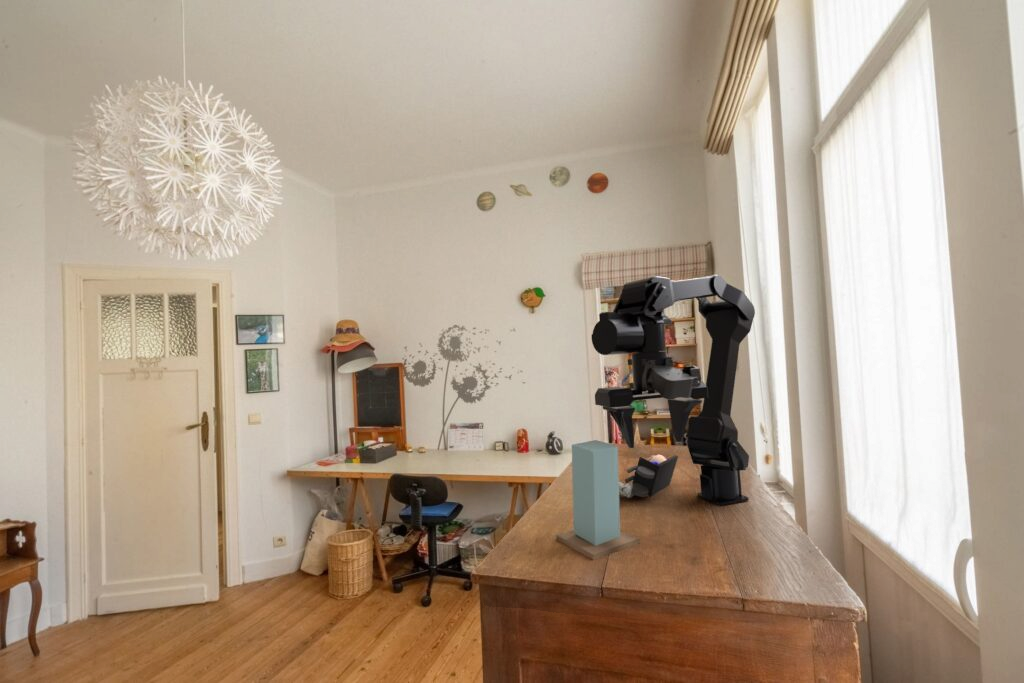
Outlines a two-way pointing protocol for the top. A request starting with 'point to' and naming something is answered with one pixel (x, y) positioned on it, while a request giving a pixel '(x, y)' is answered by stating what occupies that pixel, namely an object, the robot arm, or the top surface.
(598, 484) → the pillar
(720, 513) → the top surface
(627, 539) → the base tile
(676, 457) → the character figurine
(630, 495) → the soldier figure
